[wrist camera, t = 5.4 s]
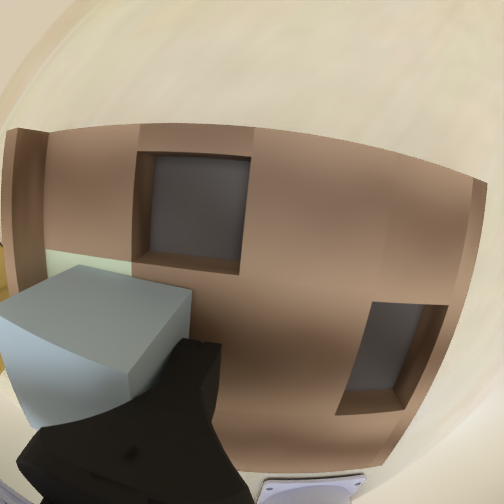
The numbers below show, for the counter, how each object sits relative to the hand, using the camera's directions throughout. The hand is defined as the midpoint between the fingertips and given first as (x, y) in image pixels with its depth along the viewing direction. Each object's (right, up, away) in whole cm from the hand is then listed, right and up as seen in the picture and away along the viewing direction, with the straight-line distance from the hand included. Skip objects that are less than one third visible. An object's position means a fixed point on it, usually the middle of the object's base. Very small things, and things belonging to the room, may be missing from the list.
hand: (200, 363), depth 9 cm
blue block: (-3, +1, +1) cm, 3 cm away
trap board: (+2, 0, +3) cm, 4 cm away
